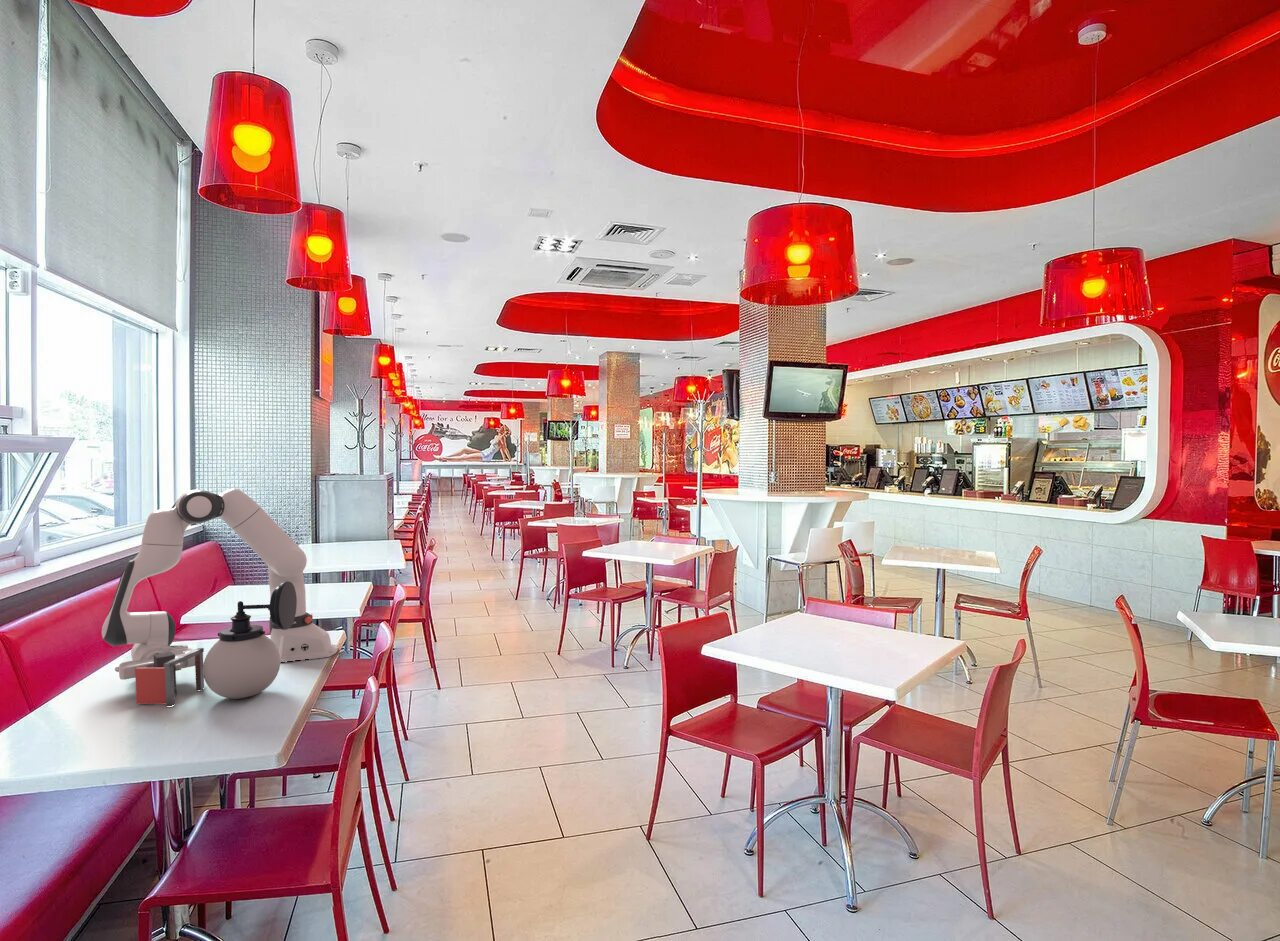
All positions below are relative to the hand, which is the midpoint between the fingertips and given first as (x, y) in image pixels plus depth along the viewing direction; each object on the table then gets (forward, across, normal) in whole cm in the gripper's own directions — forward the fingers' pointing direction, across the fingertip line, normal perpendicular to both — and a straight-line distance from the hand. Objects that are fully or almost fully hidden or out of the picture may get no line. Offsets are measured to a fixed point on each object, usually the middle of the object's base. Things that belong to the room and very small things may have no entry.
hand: (165, 670), depth 212 cm
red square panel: (+6, -4, +7) cm, 10 cm away
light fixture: (+18, +17, +8) cm, 26 cm away
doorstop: (-1, 0, +8) cm, 8 cm away
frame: (+6, +4, +8) cm, 11 cm away
